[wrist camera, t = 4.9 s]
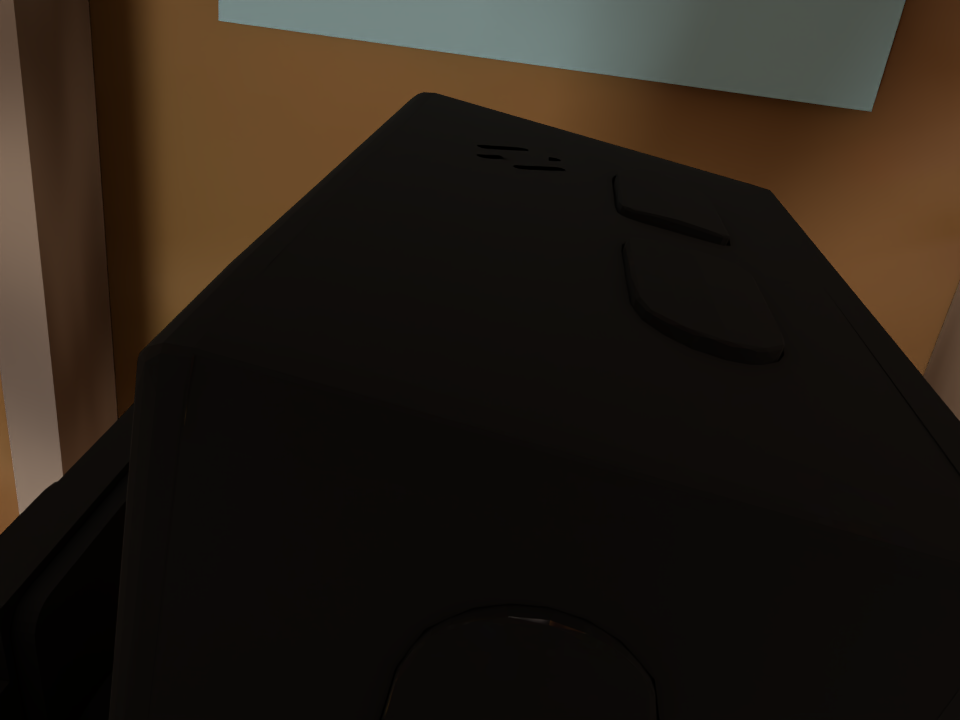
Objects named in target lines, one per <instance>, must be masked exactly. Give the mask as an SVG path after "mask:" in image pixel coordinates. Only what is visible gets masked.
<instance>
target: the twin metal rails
mask: <svg viewBox="0 0 960 720" xmlns="http://www.w3.org/2000/svg"><path fill="white" fill-rule="evenodd" d="M0 372H1V379H2V387H3V395H4V402H5V410H6V417H7V425H8V432H9V440H10V447H11V455H12V462H13V470H14V477H15V485H16V492H17V500H18V507H19V515H20V514H21V513H22V512H23V511H24V510H25V509H26V508H27V507H28V506H29V505H30V504H31V503H32V502H33V501H34V500H35V499H36V498H37V497H38V496H39V495H40V494H41V493H42V492H43V491H44V490H45V489H46V488H47V487H49V486H50V485H51V484H53V483H54V482H58V481H59V479H60V478H61V477H62V476H63V475H64V474H65V473H66V472H67V471H68V470H69V469H70V468H71V467H72V466H73V465H74V464H75V463H76V462H77V461H78V460H79V459H80V458H81V457H82V456H83V455H84V454H85V453H86V452H87V451H88V450H89V449H90V448H91V447H92V446H93V445H94V444H95V442H96V441H97V440H98V439H99V438H100V437H101V436H102V435H103V434H104V433H105V432H106V431H107V430H108V429H109V428H110V427H111V426H112V425H113V424H114V423H115V422H116V421H117V420H118V416H117V401H116V387H115V373H114V358H113V344H112V330H111V315H110V301H109V286H108V272H107V258H106V243H105V229H104V215H103V200H102V186H101V171H100V157H99V143H98V128H97V114H96V100H95V85H94V71H93V56H92V42H91V28H90V13H89V0H0ZM923 377H924V378H925V379H926V381H927V382H928V383H929V384H930V385H931V387H932V388H933V389H934V390H935V392H936V393H937V394H938V395H939V396H940V398H941V399H942V400H943V401H944V402H945V404H946V405H947V406H948V407H949V409H950V410H951V411H952V412H953V413H954V415H955V416H956V417H957V418H958V420H959V421H960V282H959V284H958V287H957V290H956V292H955V295H954V298H953V300H952V303H951V305H950V308H949V311H948V313H947V316H946V318H945V321H944V324H943V326H942V329H941V331H940V334H939V337H938V339H937V342H936V344H935V347H934V350H933V352H932V355H931V358H930V360H929V363H928V365H927V368H926V371H925V373H924V376H923Z"/></svg>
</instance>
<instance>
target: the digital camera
mask: <svg viewBox="0 0 960 720" xmlns="http://www.w3.org/2000/svg"><path fill="white" fill-rule="evenodd" d="M79 720H960V421H959V420H958V418H957V417H956V416H955V415H954V413H953V412H952V411H951V410H950V409H949V407H948V406H947V405H946V404H945V402H944V401H943V400H942V399H941V398H940V396H939V395H938V394H937V393H936V392H935V390H934V389H933V388H932V387H931V385H930V384H929V383H928V382H927V381H926V379H925V378H924V377H923V376H922V374H921V373H920V372H919V371H918V370H917V368H916V367H915V366H914V365H913V364H912V362H911V361H910V360H909V359H908V357H907V356H906V355H905V354H904V353H903V351H902V350H901V349H900V348H899V346H898V345H897V344H896V343H895V342H894V340H893V339H892V338H891V337H890V336H889V334H888V333H887V332H886V331H885V329H884V328H883V327H882V326H881V325H880V323H879V322H878V321H877V320H876V319H875V317H874V316H873V315H872V314H871V312H870V311H869V310H868V309H867V308H866V306H865V305H864V304H863V303H862V301H861V300H860V299H859V298H858V297H857V295H856V294H855V293H854V292H853V291H852V289H851V288H850V287H849V286H848V284H847V283H846V282H845V281H844V280H843V278H842V277H841V276H840V275H839V273H838V272H837V271H836V270H835V269H834V267H833V266H832V265H831V264H830V263H829V261H828V260H827V259H826V258H825V256H824V255H823V254H822V253H821V252H820V250H819V249H818V248H817V247H816V245H815V244H814V243H813V242H812V241H811V239H810V238H809V237H808V236H807V235H806V233H805V232H804V231H803V230H802V228H801V227H800V226H799V225H798V224H797V222H796V221H795V220H794V219H793V218H792V216H791V215H790V214H789V213H788V211H787V210H786V209H785V208H784V207H783V205H782V204H781V203H780V202H779V200H778V199H777V198H776V197H775V196H774V194H773V193H772V192H771V191H770V190H767V189H764V188H761V187H758V186H755V185H751V184H748V183H744V182H741V181H738V180H734V179H731V178H727V177H724V176H720V175H717V174H713V173H710V172H706V171H703V170H700V169H696V168H693V167H689V166H686V165H682V164H679V163H675V162H672V161H668V160H665V159H662V158H658V157H655V156H651V155H648V154H644V153H641V152H637V151H634V150H630V149H627V148H624V147H620V146H617V145H613V144H610V143H606V142H603V141H599V140H596V139H592V138H589V137H585V136H582V135H579V134H575V133H572V132H568V131H565V130H561V129H558V128H554V127H551V126H547V125H544V124H541V123H537V122H534V121H530V120H527V119H523V118H520V117H516V116H513V115H509V114H506V113H503V112H499V111H496V110H492V109H489V108H485V107H482V106H478V105H475V104H471V103H468V102H465V101H461V100H458V99H454V98H451V97H447V96H444V95H440V94H437V93H426V92H423V93H420V94H417V95H416V96H415V97H413V98H412V99H411V100H410V101H408V102H407V103H406V104H405V105H404V106H403V107H402V108H401V109H400V110H399V111H397V112H396V113H395V114H394V115H393V116H392V117H391V118H390V119H389V120H388V121H386V122H385V123H384V124H383V125H382V126H381V127H380V128H379V129H378V130H377V131H375V132H374V133H373V134H372V135H371V136H370V137H369V138H368V139H367V140H366V141H364V142H363V143H362V144H361V145H360V146H359V147H358V148H357V149H356V150H355V151H353V152H352V153H351V154H350V155H349V156H348V157H347V158H346V159H345V160H343V161H342V162H341V163H340V164H339V165H338V166H337V167H336V168H335V169H334V170H332V171H331V172H330V173H329V174H328V175H327V176H326V177H325V178H324V179H323V180H321V181H320V182H319V183H318V184H317V185H316V186H315V187H314V188H313V189H312V190H310V191H309V192H308V193H307V194H306V195H305V196H304V197H303V198H302V199H301V200H299V201H298V202H297V203H296V204H295V205H294V206H293V207H292V208H291V209H290V210H288V211H287V212H286V213H285V214H284V215H283V216H282V217H281V218H280V219H278V220H277V221H276V222H275V223H274V224H273V225H272V226H271V227H270V228H269V229H267V230H266V231H265V232H264V233H263V234H262V235H261V236H260V237H259V238H258V239H256V240H255V241H254V242H253V243H252V244H251V245H250V246H249V247H248V248H247V249H245V250H244V251H243V252H242V253H241V254H240V255H239V256H238V257H237V258H236V259H234V260H233V261H232V262H231V263H230V264H229V265H228V266H227V267H226V268H225V269H224V270H223V271H222V272H221V273H220V274H219V275H218V276H217V277H216V278H215V279H214V280H213V281H212V282H211V283H210V284H209V285H208V286H207V287H206V288H205V289H204V290H203V291H202V292H201V293H200V294H199V295H198V296H197V297H196V298H195V299H194V300H193V301H192V302H191V303H190V304H189V305H188V306H187V307H186V308H184V309H183V310H182V311H181V312H180V313H179V314H178V315H177V316H176V317H175V318H174V319H173V320H172V321H171V322H170V323H169V324H168V325H167V326H166V327H165V328H164V329H163V330H162V331H161V332H160V333H159V334H158V335H157V336H156V337H155V338H154V339H153V340H152V341H151V342H150V343H149V344H148V345H147V346H146V347H145V348H144V349H143V350H142V351H141V352H140V354H139V357H138V361H137V373H136V386H135V398H134V411H133V423H132V435H131V448H130V460H129V473H128V485H127V498H126V510H125V523H124V535H123V548H122V560H121V573H120V585H119V598H118V610H117V622H116V635H115V647H114V660H113V671H112V672H111V674H110V675H109V676H108V677H107V679H106V680H105V681H104V682H103V684H102V685H101V687H100V688H99V690H98V691H97V693H96V694H95V696H94V697H93V699H92V700H91V701H90V703H89V704H88V706H87V707H86V709H85V711H84V713H83V714H82V716H81V718H80V719H79Z"/></svg>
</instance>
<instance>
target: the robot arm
mask: <svg viewBox="0 0 960 720" xmlns="http://www.w3.org/2000/svg"><path fill="white" fill-rule="evenodd" d="M133 411H134V403H133V404H132V405H131V406H130V408H129V409H128V410H127V411H126V412H125V413H124V414H123V415H122V416H121V417H120V418H119V419H118V420H117V421H116V422H115V423H114V424H113V425H112V426H111V427H110V428H109V429H108V430H107V431H106V432H105V433H104V434H103V435H102V436H101V437H100V438H99V439H98V440H97V441H96V442H95V444H94V445H93V446H92V447H91V448H90V449H89V450H88V451H87V452H86V453H85V454H84V455H83V456H82V457H81V458H80V459H79V460H78V461H77V462H76V463H75V464H74V465H73V466H72V467H71V468H70V469H69V470H68V471H67V472H66V473H65V474H64V475H63V476H62V477H61V478H60V479H59V481H58V482H54V483H53V484H51V485H50V486H49V487H47V488H46V489H45V490H44V491H43V492H42V493H41V494H40V495H39V496H38V497H37V498H36V499H35V500H34V501H33V502H32V503H31V504H30V505H29V506H28V507H27V508H26V509H25V510H24V511H23V512H22V513H21V514H20V515H19V516H18V517H17V518H16V519H15V520H14V521H13V522H12V523H11V524H10V525H9V526H8V527H7V528H6V530H5V531H4V532H3V533H2V534H1V535H0V720H79V719H80V718H81V716H82V714H83V713H84V711H85V709H86V707H87V706H88V704H89V703H90V701H91V700H92V699H93V697H94V696H95V694H96V693H97V691H98V690H99V688H100V687H101V685H102V684H103V682H104V681H105V680H106V679H107V677H108V676H109V675H110V674H111V672H112V671H113V660H114V647H115V635H116V622H117V610H118V598H119V585H120V573H121V560H122V548H123V535H124V523H125V510H126V498H127V485H128V473H129V460H130V448H131V435H132V423H133Z"/></svg>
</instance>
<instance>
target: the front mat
mask: <svg viewBox="0 0 960 720" xmlns="http://www.w3.org/2000/svg"><path fill="white" fill-rule="evenodd" d="M905 1H906V0H219V21H225V22H232V23H239V24H247V25H254V26H261V27H268V28H275V29H282V30H290V31H297V32H304V33H311V34H318V35H325V36H333V37H340V38H347V39H354V40H361V41H368V42H376V43H383V44H390V45H397V46H404V47H411V48H419V49H426V50H433V51H440V52H447V53H454V54H462V55H469V56H476V57H483V58H490V59H497V60H505V61H512V62H519V63H526V64H533V65H540V66H548V67H555V68H562V69H569V70H576V71H583V72H591V73H598V74H605V75H612V76H619V77H626V78H634V79H641V80H648V81H655V82H662V83H669V84H677V85H684V86H691V87H698V88H705V89H712V90H720V91H727V92H734V93H741V94H748V95H755V96H763V97H770V98H777V99H784V100H791V101H798V102H806V103H813V104H820V105H827V106H834V107H841V108H849V109H856V110H863V111H870V112H871V111H872V108H873V104H874V101H875V98H876V95H877V92H878V88H879V85H880V82H881V79H882V75H883V72H884V69H885V66H886V62H887V59H888V56H889V53H890V49H891V46H892V43H893V40H894V36H895V33H896V30H897V27H898V23H899V20H900V17H901V14H902V10H903V7H904V4H905Z"/></svg>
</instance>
